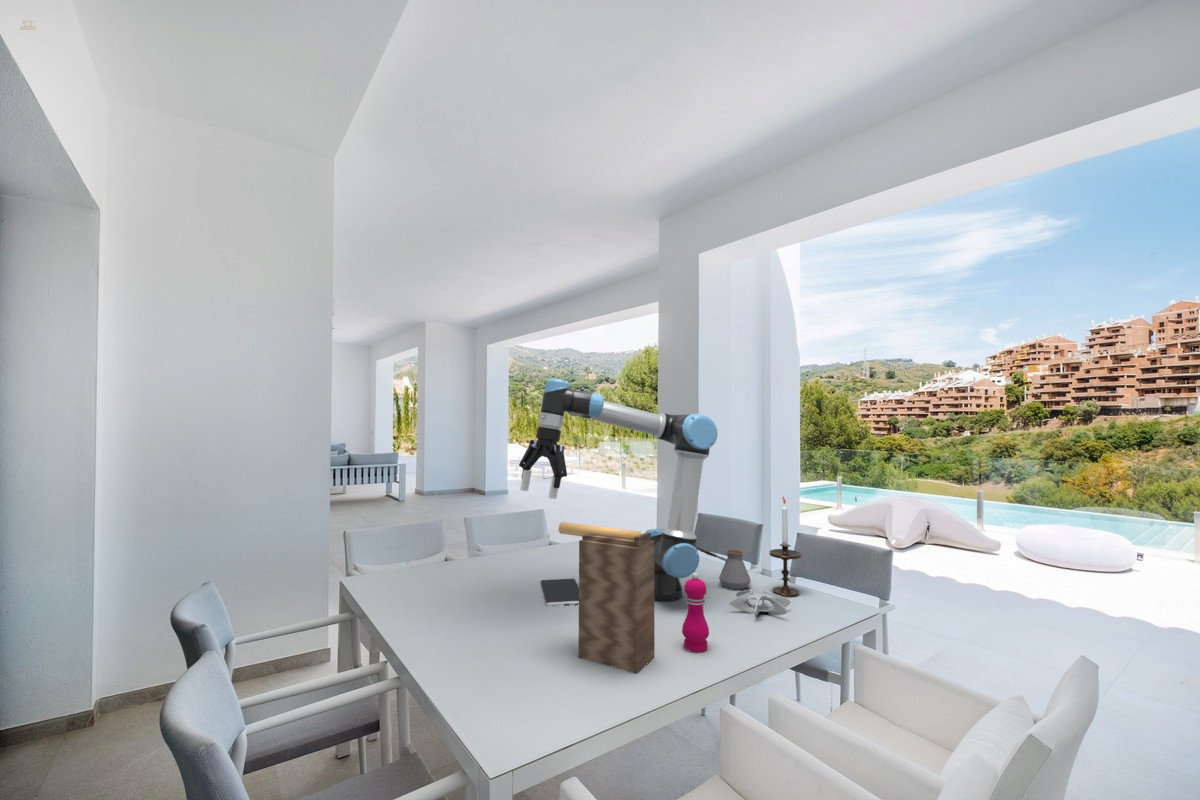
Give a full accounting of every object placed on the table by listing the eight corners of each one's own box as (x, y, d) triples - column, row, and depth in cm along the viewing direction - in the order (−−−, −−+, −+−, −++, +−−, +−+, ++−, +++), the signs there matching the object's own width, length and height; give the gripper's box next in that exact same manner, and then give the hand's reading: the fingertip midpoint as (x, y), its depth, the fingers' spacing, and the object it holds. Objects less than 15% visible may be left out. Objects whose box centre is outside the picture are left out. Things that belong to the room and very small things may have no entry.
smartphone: (546, 608, 175) (546, 603, 175) (540, 584, 202) (540, 579, 202) (585, 606, 178) (585, 601, 178) (574, 582, 204) (574, 577, 204)
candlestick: (763, 590, 193) (762, 494, 195) (786, 587, 198) (785, 492, 199) (784, 599, 184) (783, 498, 185) (808, 595, 188) (807, 496, 189)
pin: (558, 534, 146) (558, 523, 146) (565, 532, 149) (565, 521, 149) (636, 545, 134) (636, 532, 134) (641, 542, 136) (641, 530, 137)
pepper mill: (703, 655, 139) (703, 578, 140) (677, 649, 142) (677, 574, 143) (713, 645, 145) (712, 571, 146) (688, 640, 149) (688, 568, 149)
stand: (578, 657, 137) (579, 531, 139) (598, 643, 146) (598, 525, 147) (636, 673, 128) (637, 538, 130) (654, 658, 137) (654, 531, 138)
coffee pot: (743, 581, 205) (742, 542, 205) (756, 590, 193) (755, 549, 194) (689, 583, 201) (689, 543, 202) (699, 593, 190) (699, 551, 191)
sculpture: (726, 618, 166) (726, 597, 166) (738, 599, 184) (738, 581, 184) (785, 627, 158) (785, 606, 159) (792, 607, 176) (792, 588, 177)
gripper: (515, 422, 173) (504, 486, 172) (568, 430, 156) (556, 501, 155) (533, 425, 179) (521, 488, 177) (585, 433, 162) (573, 502, 160)
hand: (537, 494), depth 166 cm, fingers open, 13 cm apart
